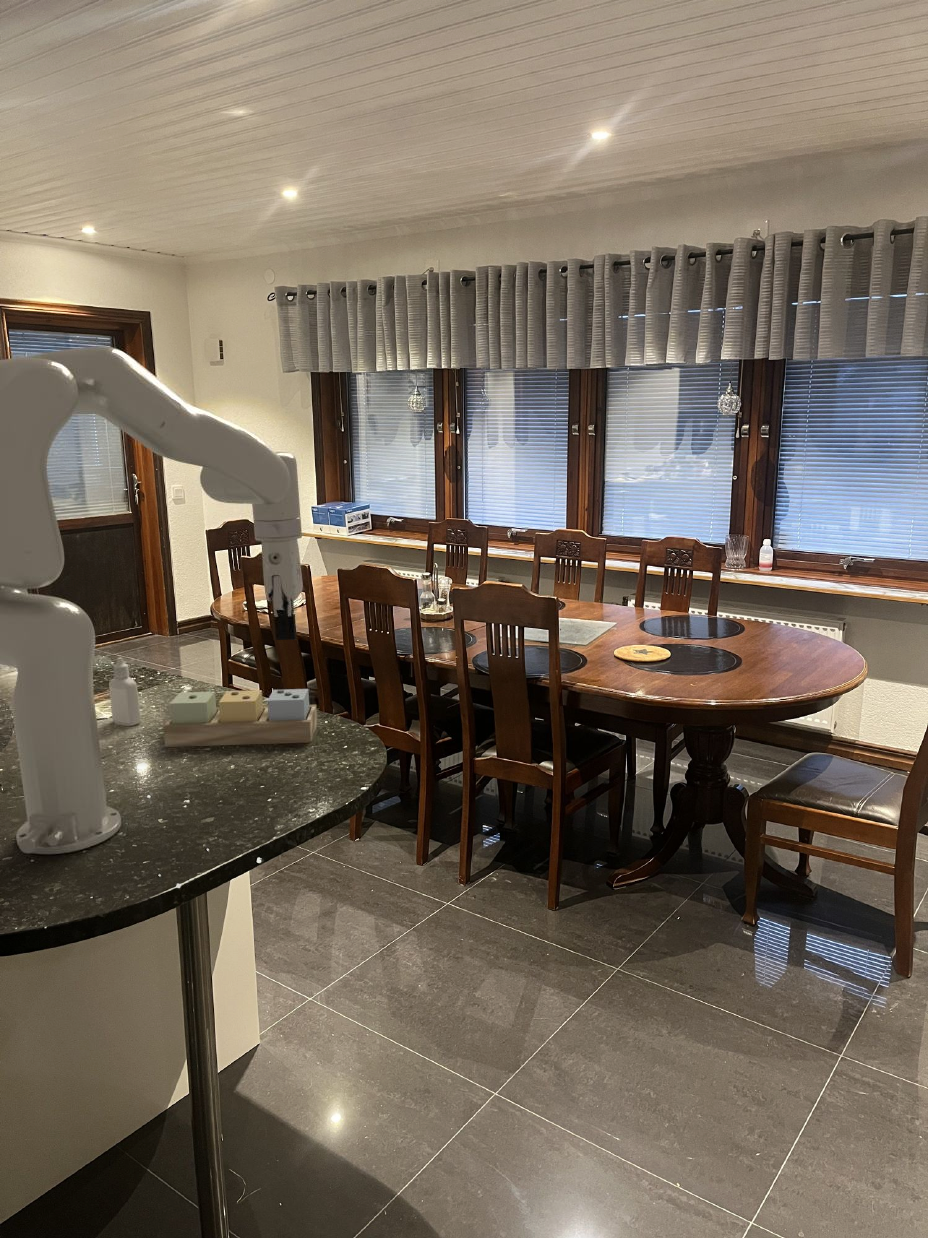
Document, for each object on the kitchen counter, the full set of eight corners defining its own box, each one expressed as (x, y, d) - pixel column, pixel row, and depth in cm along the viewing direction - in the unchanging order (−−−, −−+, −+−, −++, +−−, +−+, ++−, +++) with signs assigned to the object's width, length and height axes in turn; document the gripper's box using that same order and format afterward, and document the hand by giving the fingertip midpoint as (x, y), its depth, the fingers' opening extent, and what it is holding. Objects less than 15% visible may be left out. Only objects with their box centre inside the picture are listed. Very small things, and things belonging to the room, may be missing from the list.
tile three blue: (304, 720, 149) (303, 698, 148) (268, 721, 149) (267, 699, 148) (309, 709, 155) (308, 687, 154) (274, 710, 155) (273, 688, 154)
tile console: (310, 742, 148) (309, 721, 147) (165, 747, 147) (163, 726, 147) (317, 724, 157) (316, 704, 156) (179, 728, 156) (178, 708, 155)
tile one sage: (208, 723, 148) (206, 701, 148) (171, 724, 148) (169, 702, 147) (216, 712, 154) (214, 690, 153) (181, 713, 154) (179, 691, 153)
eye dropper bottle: (115, 729, 156) (108, 663, 154) (112, 720, 161) (104, 656, 159) (141, 725, 158) (135, 660, 156) (137, 716, 163) (130, 652, 160)
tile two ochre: (256, 722, 149) (255, 699, 148) (220, 723, 148) (218, 701, 148) (263, 710, 154) (261, 689, 154) (228, 711, 154) (226, 690, 153)
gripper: (294, 535, 138) (302, 649, 142) (307, 522, 152) (314, 626, 156) (245, 536, 137) (255, 651, 142) (262, 524, 152) (271, 628, 156)
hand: (286, 638), depth 149 cm, fingers closed
